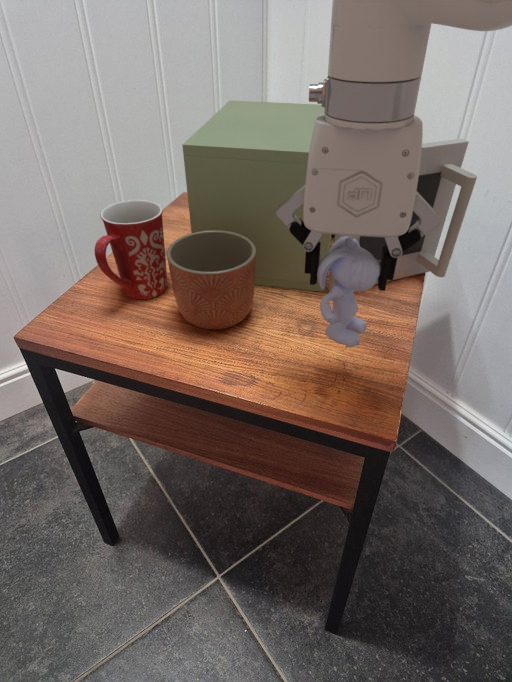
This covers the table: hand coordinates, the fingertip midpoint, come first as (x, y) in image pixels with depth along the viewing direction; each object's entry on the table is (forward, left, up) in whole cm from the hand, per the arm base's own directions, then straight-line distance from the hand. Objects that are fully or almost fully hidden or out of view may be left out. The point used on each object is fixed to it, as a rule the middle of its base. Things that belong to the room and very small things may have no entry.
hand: (347, 280), depth 48 cm
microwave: (+12, -33, -14) cm, 38 cm away
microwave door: (-8, -22, -14) cm, 27 cm away
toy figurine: (0, 0, -7) cm, 7 cm away
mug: (+33, -13, -15) cm, 38 cm away
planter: (+19, -10, -15) cm, 26 cm away
